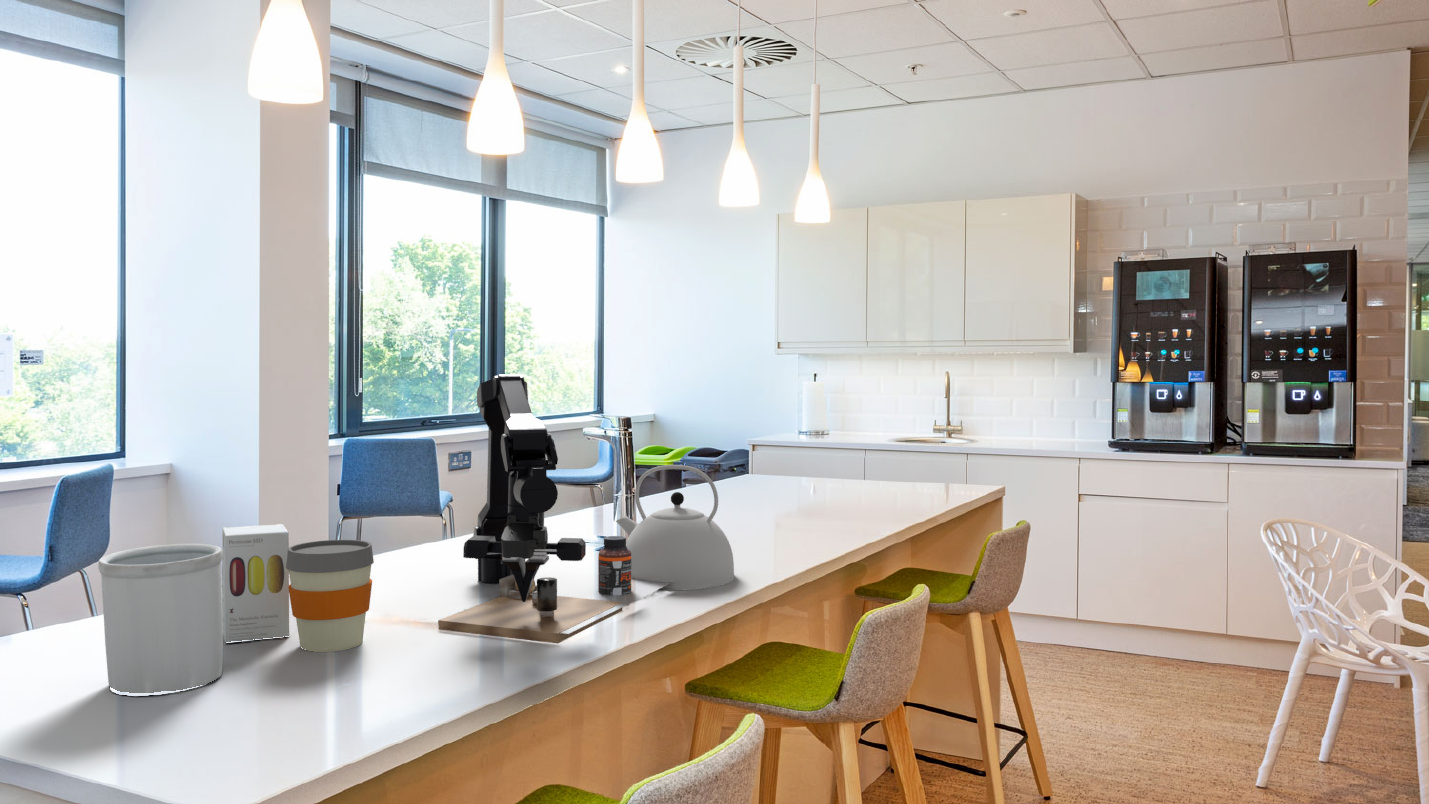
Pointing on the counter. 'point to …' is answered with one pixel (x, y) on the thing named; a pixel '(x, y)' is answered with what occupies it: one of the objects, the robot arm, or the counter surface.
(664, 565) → the kettle
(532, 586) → the nut
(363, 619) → the reusable coffee cup
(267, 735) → the counter surface
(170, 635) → the utensil holder
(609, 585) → the supplement bottle
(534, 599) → the lever
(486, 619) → the base
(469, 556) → the robot arm
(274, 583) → the supplement box
